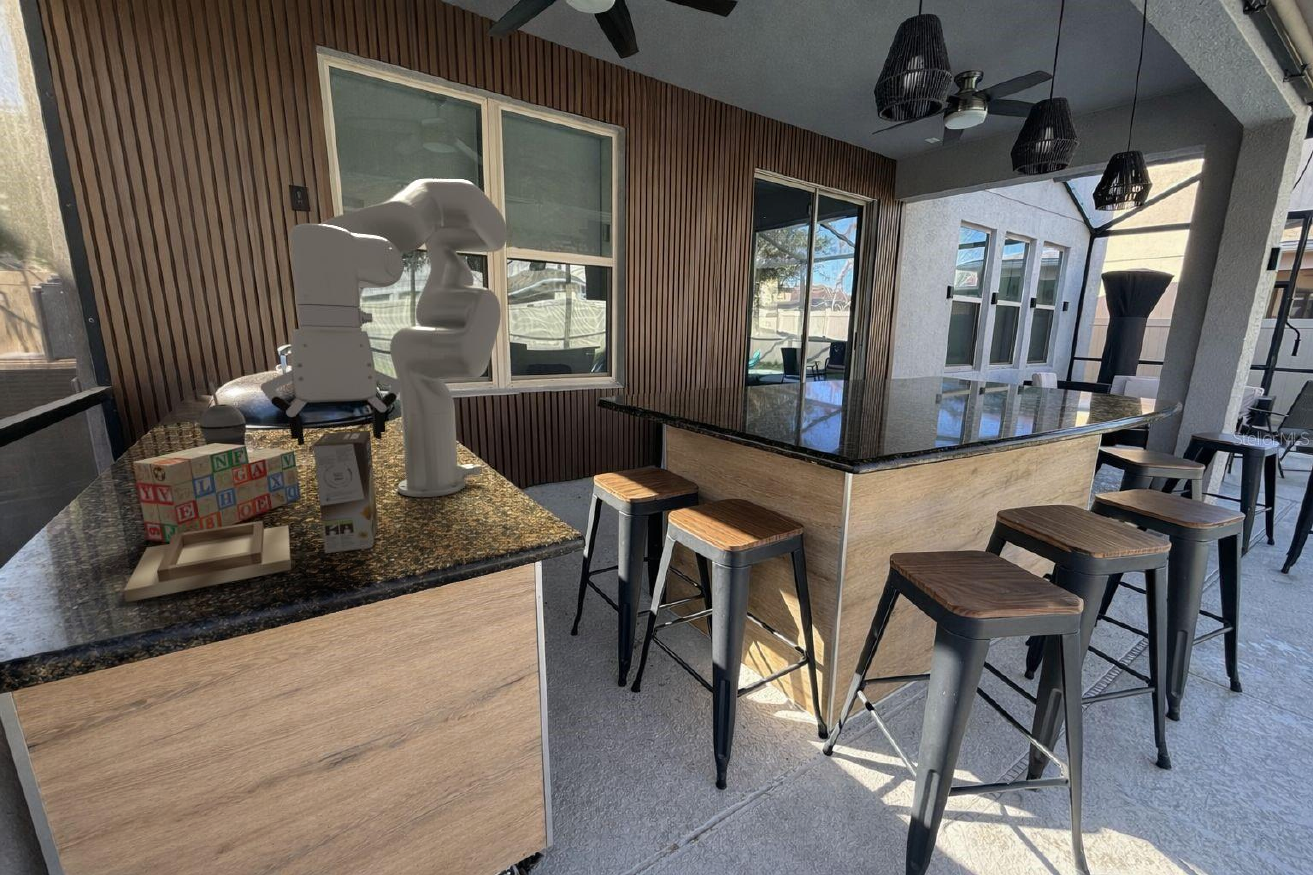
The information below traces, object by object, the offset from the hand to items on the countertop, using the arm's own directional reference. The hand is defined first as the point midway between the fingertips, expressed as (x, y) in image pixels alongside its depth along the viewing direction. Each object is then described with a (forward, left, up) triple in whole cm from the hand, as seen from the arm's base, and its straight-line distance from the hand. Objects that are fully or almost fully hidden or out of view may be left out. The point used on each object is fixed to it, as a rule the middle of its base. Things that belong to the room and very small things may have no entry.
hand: (340, 440), depth 77 cm
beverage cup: (+17, -44, -16) cm, 50 cm away
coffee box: (0, 0, -16) cm, 16 cm away
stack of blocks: (+15, -21, -16) cm, 30 cm away
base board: (+16, 0, -16) cm, 22 cm away
